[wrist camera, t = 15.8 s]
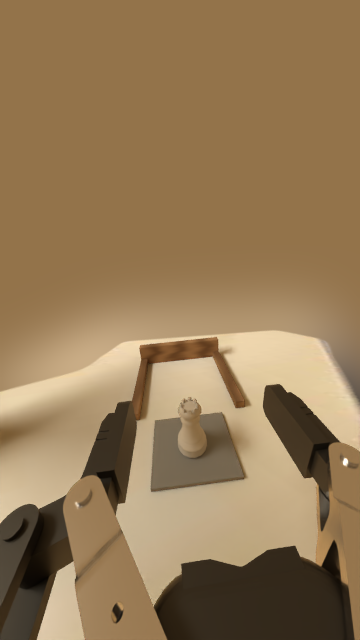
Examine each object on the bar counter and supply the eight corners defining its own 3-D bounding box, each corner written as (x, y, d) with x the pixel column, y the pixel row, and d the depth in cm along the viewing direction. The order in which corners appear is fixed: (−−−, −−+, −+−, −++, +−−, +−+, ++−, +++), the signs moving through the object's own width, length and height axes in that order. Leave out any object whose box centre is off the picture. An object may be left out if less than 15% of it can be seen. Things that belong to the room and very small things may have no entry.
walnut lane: (130, 421, 33) (125, 399, 31) (143, 360, 52) (140, 345, 50) (244, 406, 34) (245, 385, 32) (216, 352, 52) (216, 337, 51)
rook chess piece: (172, 440, 29) (167, 400, 26) (196, 426, 31) (193, 388, 28) (187, 466, 25) (183, 424, 22) (213, 449, 27) (212, 407, 24)
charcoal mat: (151, 491, 23) (150, 489, 23) (155, 422, 32) (155, 420, 32) (243, 478, 24) (243, 476, 23) (221, 414, 33) (221, 412, 33)
